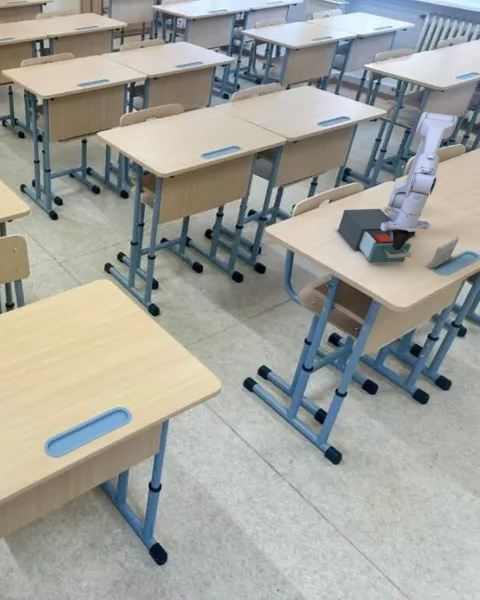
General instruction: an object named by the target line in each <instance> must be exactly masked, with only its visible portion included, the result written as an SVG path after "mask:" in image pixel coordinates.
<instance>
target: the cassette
mask: <svg viewBox="0 0 480 600" xmlns="http://www.w3.org/2000/svg"><path fill="white" fill-rule="evenodd" d="M459 240H460V238H459V237H457V236H456V237H454V238H453V239H451V240H448V241H447V242H445V243H444V244H442V245H440V246H439V247H437V248H436V251H435V253H434V255H433V256H432V259H431V262H430V263H429V265H428V268H429V269H434V268H436V267H439V266H440V265H442V264H444V263H445V262H447V261H448V260H449V259H450V258H451V257H452V255H453V252H454V250H455V249H456V247H457V244H458V242H459Z"/></svg>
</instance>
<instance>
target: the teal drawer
mask: <svg viewBox="0 0 480 600" xmlns="http://www.w3.org/2000/svg"><path fill="white" fill-rule="evenodd" d="M376 234H387V235H388V236H389V237H390V238H391V239H392V240H393V233H392V230H386V231H382V230H378V231H363V234H362V237H361V239H360V242H359V245H358V247H359V248H360V249H361V250H360V251H361V252H362V253H363V254H364V255H365V256H366V258H367V259H368V260H367V262H368V264H379V263H380V264H381V263H382V264H383V263H385V264H386V263H404V262H405V260H406V258H410V257H411V256H412V254H411V252H409V251H410V248H411V246H412V244H411V243H410V242H406V243H405V244H404V245H403V246H402V247H401V249H400V250H395V249H394V248H393V243H385V244H376V241H375V240H374V236H375V235H376Z"/></svg>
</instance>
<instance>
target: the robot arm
mask: <svg viewBox="0 0 480 600" xmlns="http://www.w3.org/2000/svg"><path fill="white" fill-rule="evenodd" d="M458 120H459V119H458V117H457V115H450V114H442V113H434V112H427V111H423V112H422V113H421V116H420V118H419V121H418V124H417V127H416V130H415V134H416V135H418V136H420V142H419V145H418V148H417V150H416V153H415V155H414V158H413V161H412V163H411V166H410V169H409V172H408V174H407V177H406V179H405V181H402V182H400V183H397V184H395V186H394V187H393V190H392V191H391V193H390V196H389V198H388V202H387V206H388V205H389V207H391V209H390V211H389V212H388V214H387V216H388V217H389V218H390V219H391V220H392V221H390V222H385V223H382V224H381V227H380V228H381V230H382V231H386V230H392V233H393V248H394V249H395V250H400V249H401V247H402V246H403V245H404V244H405V243H407V242H408V241H410V239H411V238H412V237H414V236H415V235H416V230H424V231H425V230H426V231H427V230H429V229H430V226H431V223H429V222H428V221H427V220H420V217H421V215H422V213H423V210H424V208H425V205H426V204H427V201H428V198H429V196H431V195H432V193H433V192H434V190H435V188H436V185H437V181H438V172H437V171H438V167H439V163H440V157H439V155H438V152H439V149H440V147H441V144H442V140H445V139H448V138H449V137H450V136H452V134H453V133H454V132H455V129H456V126H457V124H458Z"/></svg>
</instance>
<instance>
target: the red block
mask: <svg viewBox="0 0 480 600" xmlns="http://www.w3.org/2000/svg"><path fill="white" fill-rule="evenodd" d="M374 240H375V241H376V244H385V243H393V240H392V239H391V238H390V237H389V236H388V235H387V234H376V235H375V236H374Z"/></svg>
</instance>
